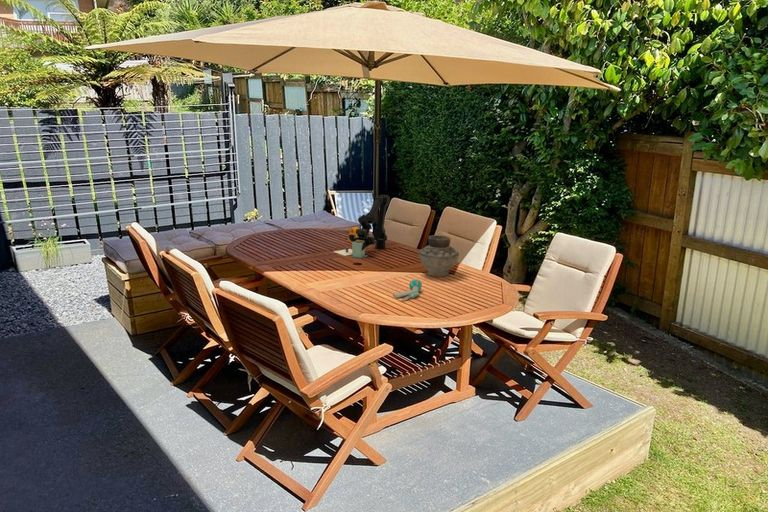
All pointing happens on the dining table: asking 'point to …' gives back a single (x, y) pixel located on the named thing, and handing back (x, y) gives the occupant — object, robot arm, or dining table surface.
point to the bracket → (353, 232)
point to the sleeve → (358, 249)
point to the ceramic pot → (438, 256)
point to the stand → (360, 258)
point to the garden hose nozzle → (414, 286)
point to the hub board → (344, 252)
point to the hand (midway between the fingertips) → (357, 249)
